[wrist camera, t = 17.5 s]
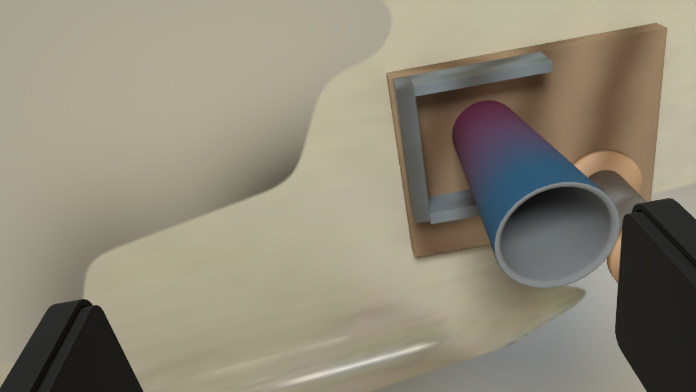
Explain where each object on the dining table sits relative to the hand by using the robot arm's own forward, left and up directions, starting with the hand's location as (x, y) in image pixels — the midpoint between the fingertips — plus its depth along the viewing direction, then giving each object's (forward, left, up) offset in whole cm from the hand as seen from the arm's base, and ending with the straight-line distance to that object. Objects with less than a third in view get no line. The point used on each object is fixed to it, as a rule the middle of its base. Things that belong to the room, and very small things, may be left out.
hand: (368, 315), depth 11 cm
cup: (-10, +12, -33) cm, 37 cm away
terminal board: (-13, +15, -34) cm, 40 cm away
